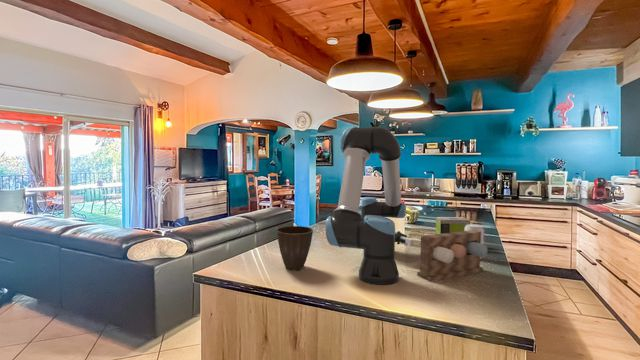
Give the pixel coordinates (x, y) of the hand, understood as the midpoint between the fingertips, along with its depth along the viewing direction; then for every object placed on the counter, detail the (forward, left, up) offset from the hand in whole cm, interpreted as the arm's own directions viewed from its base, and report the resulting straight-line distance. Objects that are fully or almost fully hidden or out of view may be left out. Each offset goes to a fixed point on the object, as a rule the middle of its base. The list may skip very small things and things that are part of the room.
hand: (411, 243), depth 140 cm
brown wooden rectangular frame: (+9, -13, -10) cm, 19 cm away
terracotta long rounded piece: (+9, -13, -3) cm, 16 cm away
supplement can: (+36, -1, -10) cm, 37 cm away
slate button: (+18, -16, -3) cm, 24 cm away
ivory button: (0, -16, -3) cm, 16 cm away
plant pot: (-45, +19, -10) cm, 50 cm away
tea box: (+44, +19, -10) cm, 49 cm away
